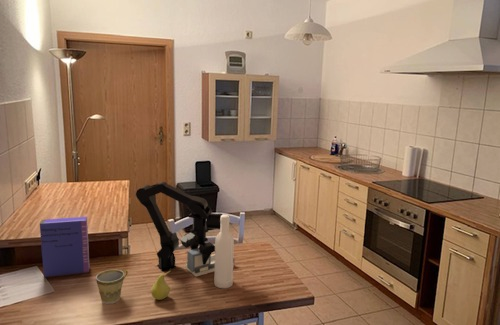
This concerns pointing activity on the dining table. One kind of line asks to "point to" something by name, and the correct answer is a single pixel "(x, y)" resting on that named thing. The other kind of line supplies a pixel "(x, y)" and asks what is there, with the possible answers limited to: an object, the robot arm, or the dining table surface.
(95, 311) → the dining table surface
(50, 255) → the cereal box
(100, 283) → the ceramic cup
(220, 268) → the bottle
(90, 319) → the dining table surface
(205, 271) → the shelf
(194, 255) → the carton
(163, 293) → the fruit
